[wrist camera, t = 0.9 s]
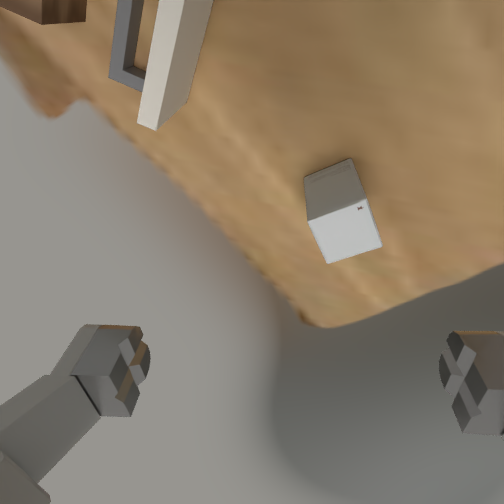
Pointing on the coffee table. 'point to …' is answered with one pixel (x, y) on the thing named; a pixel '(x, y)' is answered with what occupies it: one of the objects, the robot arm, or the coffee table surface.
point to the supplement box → (340, 212)
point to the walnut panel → (48, 10)
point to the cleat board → (160, 55)
